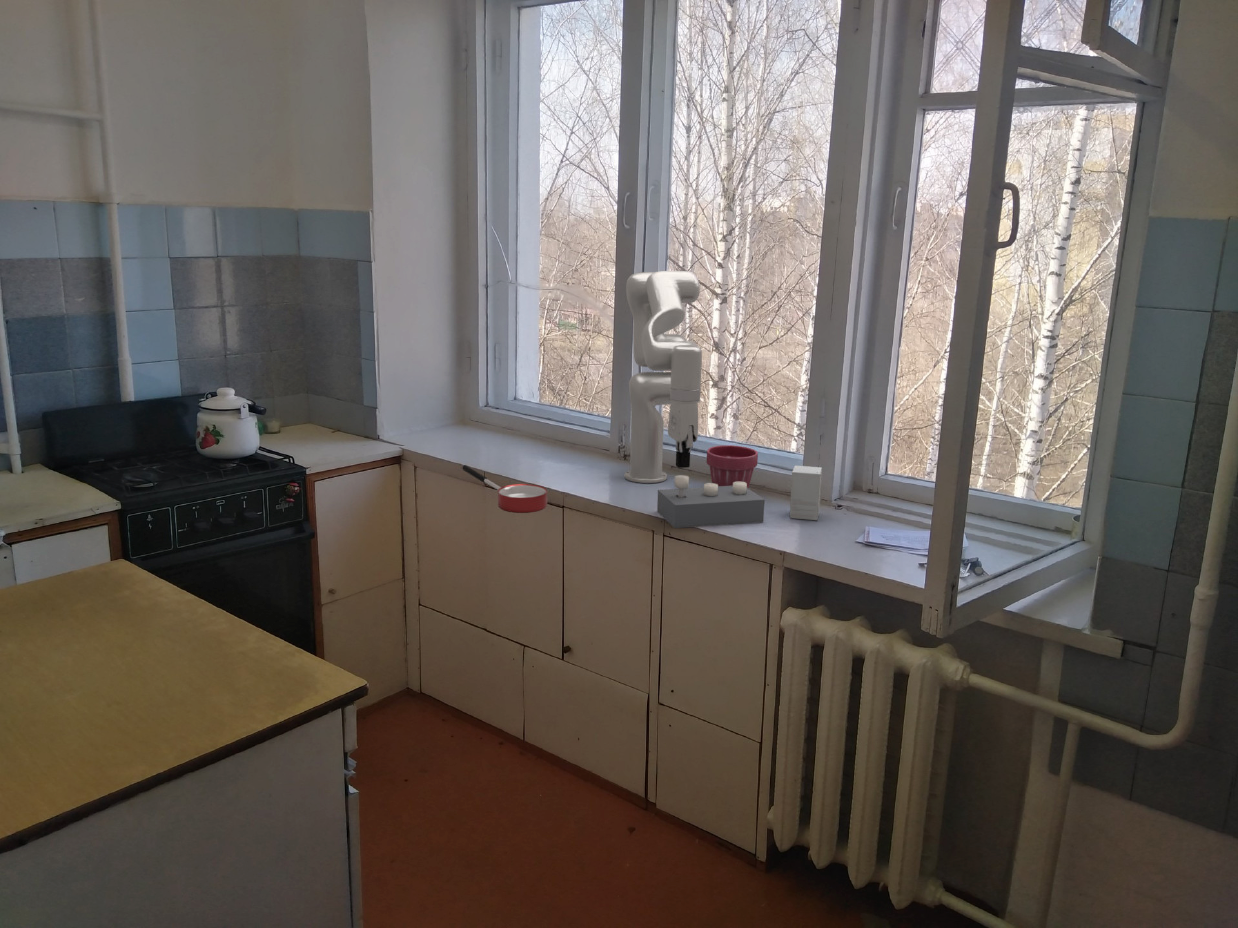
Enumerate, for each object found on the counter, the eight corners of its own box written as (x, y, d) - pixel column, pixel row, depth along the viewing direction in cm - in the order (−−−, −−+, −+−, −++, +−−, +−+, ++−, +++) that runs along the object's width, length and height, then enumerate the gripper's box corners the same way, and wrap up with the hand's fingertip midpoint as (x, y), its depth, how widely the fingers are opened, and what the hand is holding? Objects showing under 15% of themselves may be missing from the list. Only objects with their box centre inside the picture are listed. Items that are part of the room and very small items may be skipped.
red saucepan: (440, 493, 264) (439, 470, 262) (475, 483, 274) (474, 462, 272) (522, 516, 244) (522, 493, 243) (557, 506, 254) (557, 483, 253)
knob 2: (700, 509, 248) (702, 483, 247) (713, 508, 249) (715, 482, 248) (705, 513, 245) (706, 487, 243) (718, 512, 246) (720, 486, 244)
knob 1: (672, 502, 246) (672, 475, 244) (685, 501, 247) (686, 474, 245) (676, 506, 242) (677, 479, 240) (689, 505, 243) (691, 478, 241)
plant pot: (746, 505, 259) (749, 459, 255) (697, 498, 264) (699, 453, 261) (761, 492, 271) (764, 448, 268) (714, 485, 277) (716, 442, 274)
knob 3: (729, 507, 250) (730, 481, 249) (742, 507, 251) (743, 481, 250) (734, 511, 247) (736, 485, 245) (747, 511, 248) (749, 484, 246)
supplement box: (819, 513, 253) (823, 467, 250) (817, 521, 246) (821, 473, 243) (791, 510, 255) (794, 464, 252) (788, 518, 248) (791, 471, 245)
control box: (657, 511, 251) (657, 489, 249) (742, 506, 257) (743, 485, 256) (674, 528, 238) (675, 505, 236) (763, 522, 244) (764, 499, 243)
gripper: (661, 390, 243) (659, 460, 248) (680, 400, 229) (678, 474, 234) (689, 390, 245) (686, 459, 250) (710, 400, 231) (707, 473, 236)
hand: (682, 466), depth 242 cm, fingers closed
